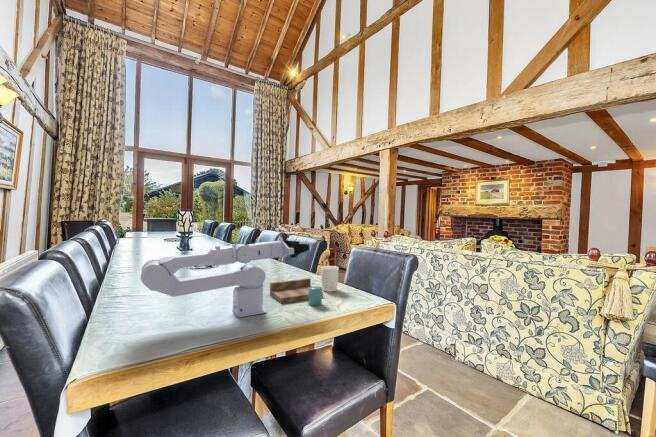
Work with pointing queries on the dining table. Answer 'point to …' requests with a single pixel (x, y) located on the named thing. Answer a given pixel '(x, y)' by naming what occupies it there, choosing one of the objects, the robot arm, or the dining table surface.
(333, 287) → the white cup
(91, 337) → the dining table surface
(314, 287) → the teal round canister
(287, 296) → the walnut shelf
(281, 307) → the dining table surface
